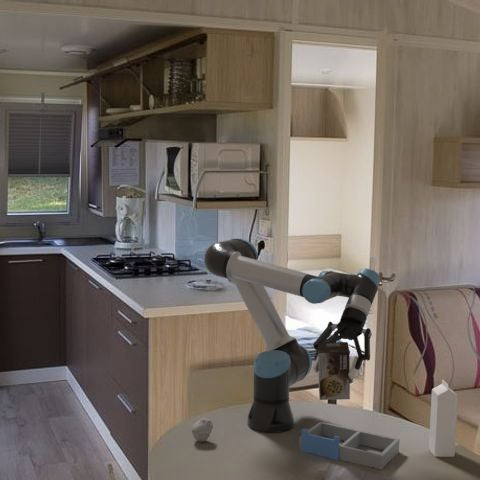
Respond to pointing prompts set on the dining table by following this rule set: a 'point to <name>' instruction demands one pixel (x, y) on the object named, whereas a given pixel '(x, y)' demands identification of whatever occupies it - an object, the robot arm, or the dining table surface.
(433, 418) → the milk
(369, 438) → the two-compartment sorting tray
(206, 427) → the grey lumpy rounded piece
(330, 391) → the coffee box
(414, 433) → the dining table surface
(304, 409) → the dining table surface
